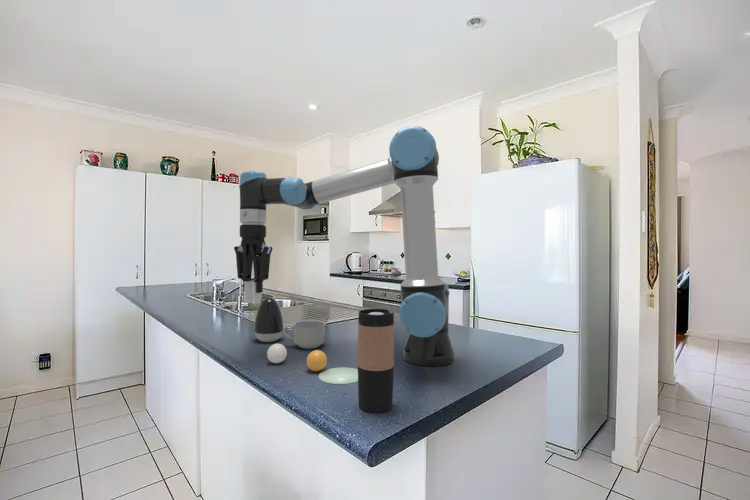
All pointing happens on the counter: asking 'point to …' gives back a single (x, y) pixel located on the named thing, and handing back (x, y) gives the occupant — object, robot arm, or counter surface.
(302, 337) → the teacup
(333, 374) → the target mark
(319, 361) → the orange ball
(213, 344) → the counter surface
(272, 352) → the cue ball
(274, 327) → the black and grey ovoid
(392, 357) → the travel mug
